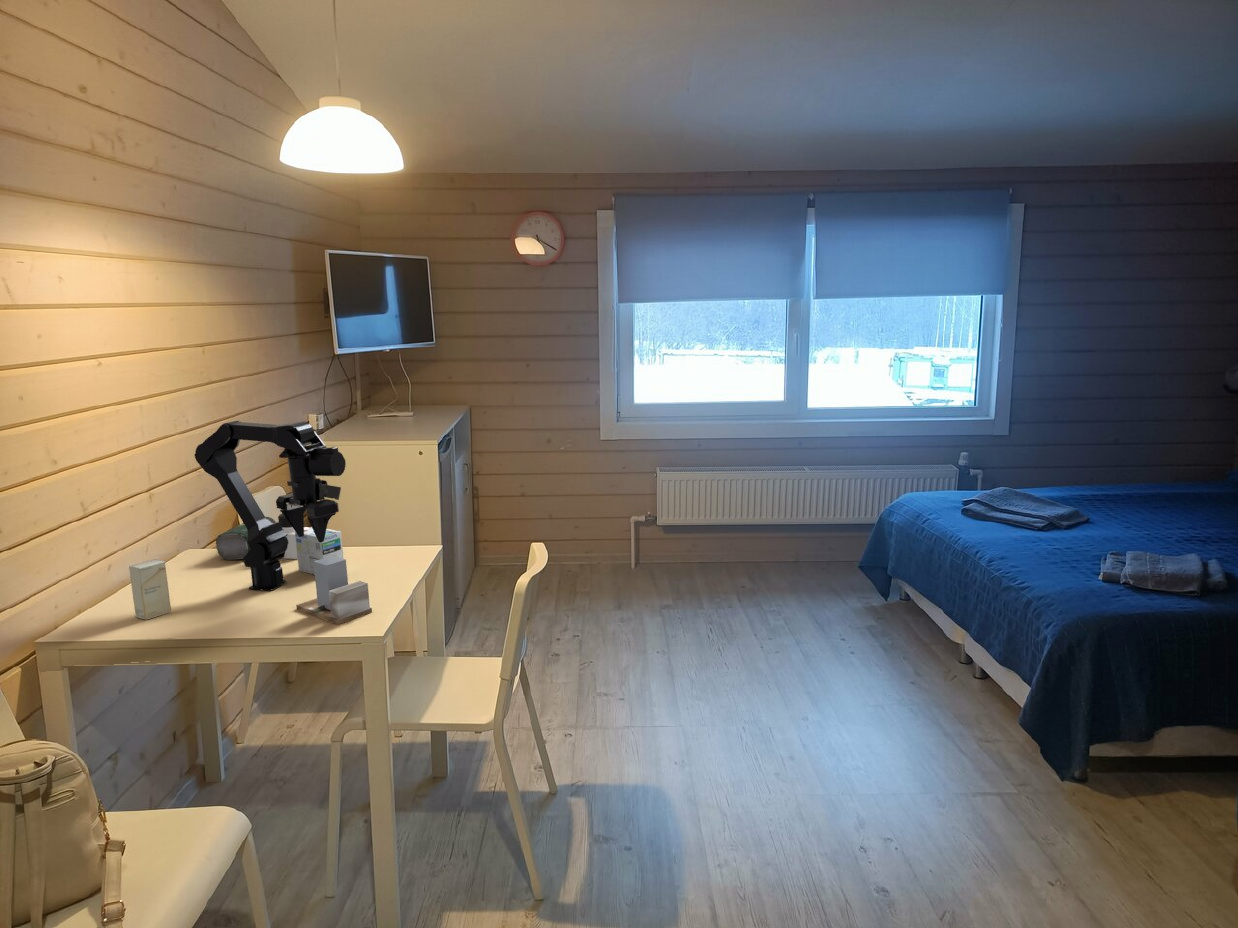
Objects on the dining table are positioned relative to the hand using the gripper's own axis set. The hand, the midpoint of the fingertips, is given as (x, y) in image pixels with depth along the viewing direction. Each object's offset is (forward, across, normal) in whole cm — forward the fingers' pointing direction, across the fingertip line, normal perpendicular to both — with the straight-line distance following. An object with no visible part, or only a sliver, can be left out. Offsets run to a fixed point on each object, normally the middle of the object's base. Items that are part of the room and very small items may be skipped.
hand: (311, 539), depth 207 cm
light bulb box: (+13, +14, -9) cm, 21 cm away
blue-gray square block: (+12, -15, +5) cm, 20 cm away
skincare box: (+12, +16, +32) cm, 38 cm away
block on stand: (+14, -14, +4) cm, 20 cm away
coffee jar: (+8, +40, +2) cm, 41 cm away
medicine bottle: (+12, +32, -11) cm, 36 cm away
